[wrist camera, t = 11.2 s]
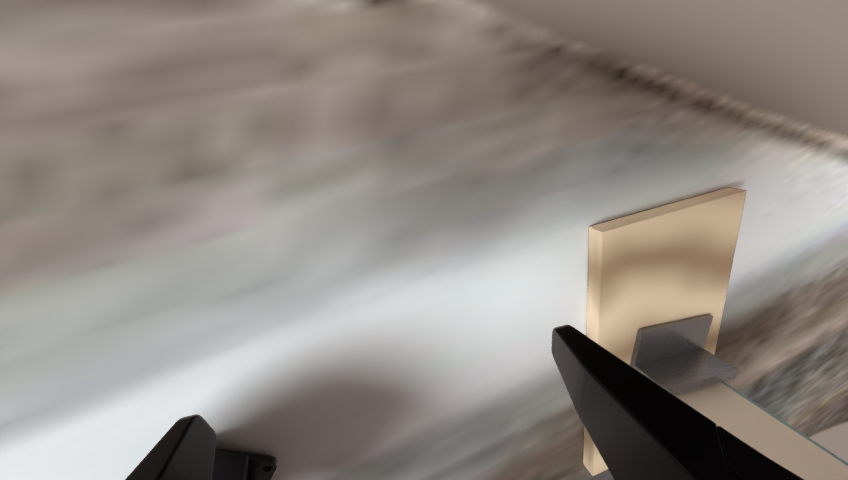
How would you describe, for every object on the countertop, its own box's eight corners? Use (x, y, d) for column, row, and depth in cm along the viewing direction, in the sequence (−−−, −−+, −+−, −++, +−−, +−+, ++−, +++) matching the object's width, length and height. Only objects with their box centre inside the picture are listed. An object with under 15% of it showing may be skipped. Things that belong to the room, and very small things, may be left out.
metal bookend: (628, 370, 28) (662, 398, 25) (638, 328, 27) (675, 353, 24) (696, 353, 30) (734, 377, 27) (708, 313, 29) (750, 335, 26)
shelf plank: (688, 416, 35) (700, 426, 34) (583, 463, 32) (592, 476, 31) (728, 187, 26) (746, 190, 25) (589, 226, 24) (602, 232, 23)
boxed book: (624, 408, 30) (807, 581, 19) (631, 376, 28) (830, 541, 18) (682, 391, 31) (881, 541, 20) (691, 360, 30) (906, 501, 19)
